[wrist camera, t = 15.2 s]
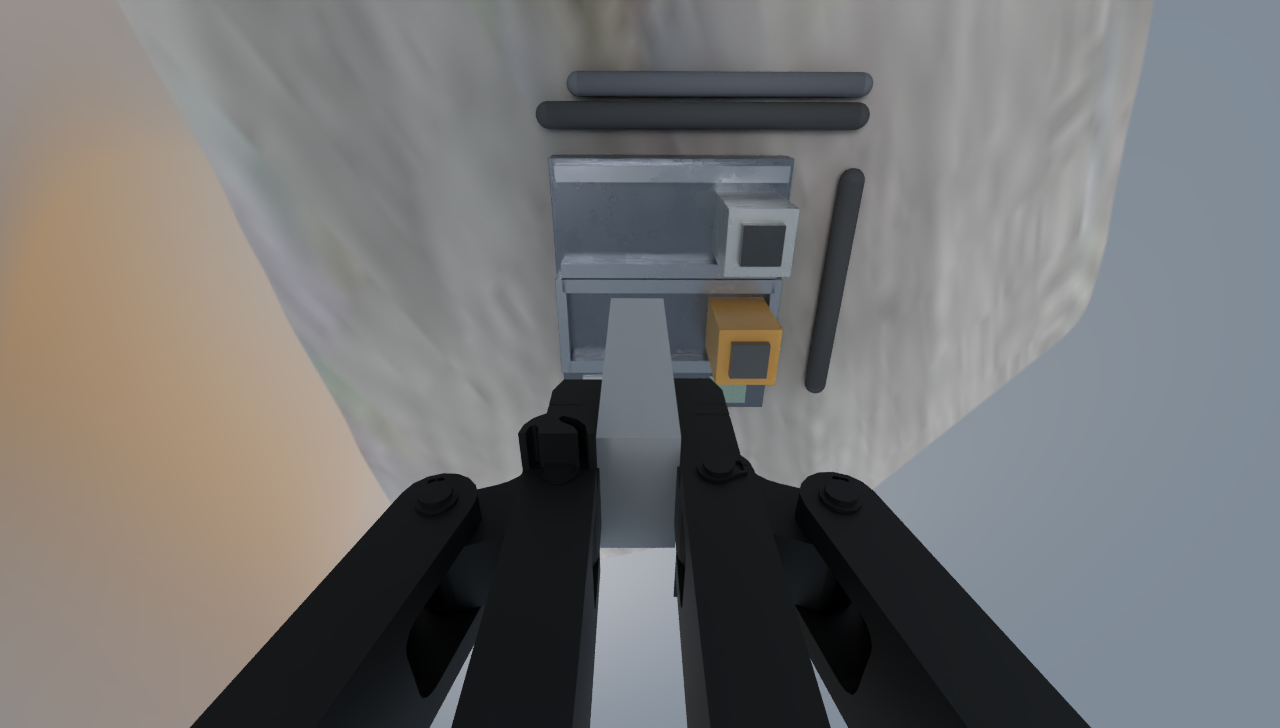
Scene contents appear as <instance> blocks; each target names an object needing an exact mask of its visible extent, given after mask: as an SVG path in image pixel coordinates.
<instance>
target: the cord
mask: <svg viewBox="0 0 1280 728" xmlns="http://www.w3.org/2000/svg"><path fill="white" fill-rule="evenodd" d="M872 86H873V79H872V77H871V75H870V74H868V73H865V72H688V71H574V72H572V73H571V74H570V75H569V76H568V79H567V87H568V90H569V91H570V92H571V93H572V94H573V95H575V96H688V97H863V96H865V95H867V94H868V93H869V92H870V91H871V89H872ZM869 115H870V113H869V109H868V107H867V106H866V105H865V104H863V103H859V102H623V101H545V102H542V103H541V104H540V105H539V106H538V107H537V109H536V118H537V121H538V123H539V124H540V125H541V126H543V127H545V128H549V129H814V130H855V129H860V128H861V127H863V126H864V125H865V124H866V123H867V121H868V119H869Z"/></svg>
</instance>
